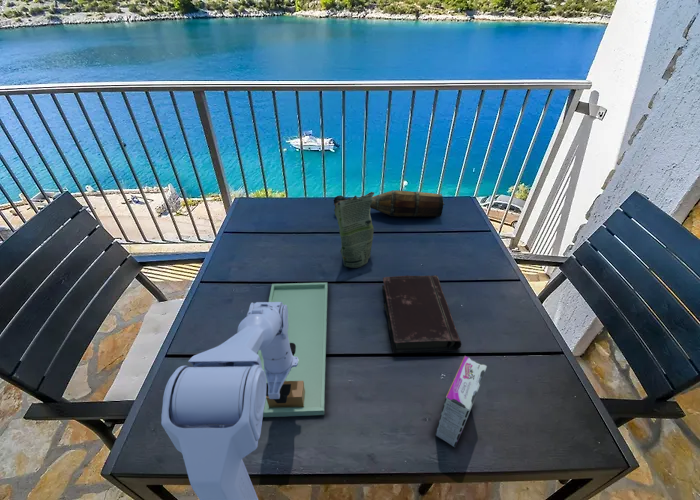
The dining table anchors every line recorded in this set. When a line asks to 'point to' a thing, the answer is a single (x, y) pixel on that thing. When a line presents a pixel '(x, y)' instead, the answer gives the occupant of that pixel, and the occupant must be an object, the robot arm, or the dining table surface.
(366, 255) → the pouch
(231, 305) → the dining table surface
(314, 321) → the tray
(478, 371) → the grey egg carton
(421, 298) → the diary
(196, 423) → the robot arm
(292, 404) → the block
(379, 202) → the decorative bottle
